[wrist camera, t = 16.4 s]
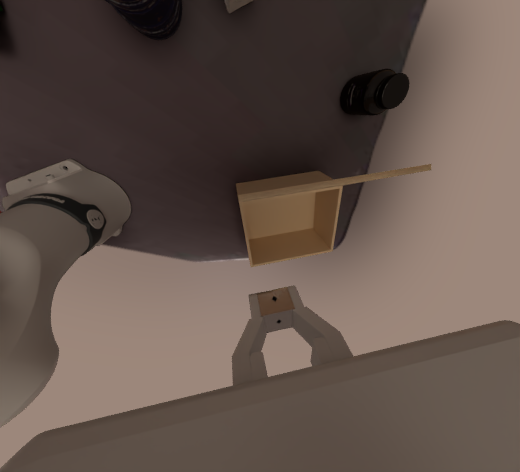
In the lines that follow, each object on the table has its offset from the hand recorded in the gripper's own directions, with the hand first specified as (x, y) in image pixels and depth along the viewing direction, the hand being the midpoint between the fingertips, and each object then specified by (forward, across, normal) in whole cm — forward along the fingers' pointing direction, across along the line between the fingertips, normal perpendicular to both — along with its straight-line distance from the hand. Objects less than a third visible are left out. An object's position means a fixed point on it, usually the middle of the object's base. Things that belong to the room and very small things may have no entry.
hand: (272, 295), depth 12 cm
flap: (+19, -10, +1) cm, 21 cm away
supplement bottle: (+39, -28, -10) cm, 49 cm away
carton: (+39, -10, +14) cm, 43 cm away
